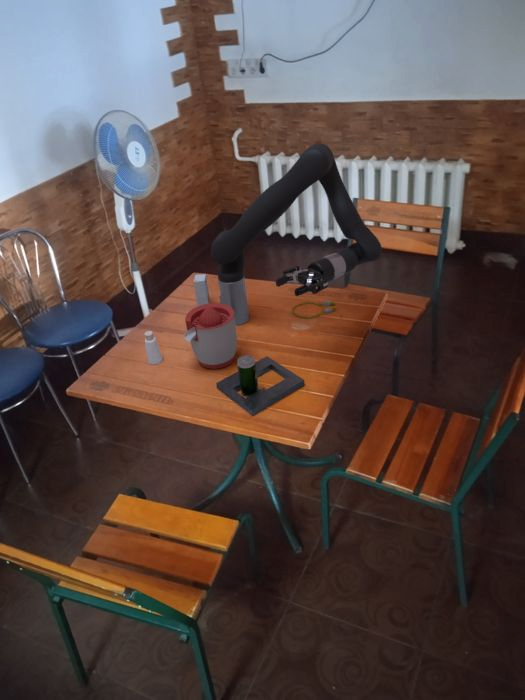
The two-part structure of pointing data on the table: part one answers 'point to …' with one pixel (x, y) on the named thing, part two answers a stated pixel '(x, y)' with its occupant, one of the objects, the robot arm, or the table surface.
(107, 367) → the table surface
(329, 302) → the extension cord
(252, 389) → the green drink can
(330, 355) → the table surface
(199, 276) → the skincare box
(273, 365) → the keyhole plate
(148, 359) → the pepper shaker
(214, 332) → the citrus juicer
